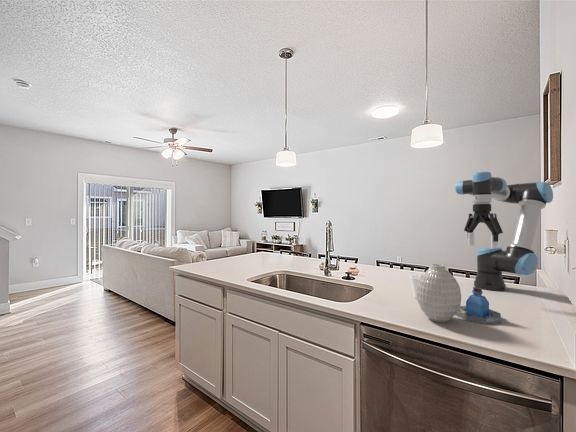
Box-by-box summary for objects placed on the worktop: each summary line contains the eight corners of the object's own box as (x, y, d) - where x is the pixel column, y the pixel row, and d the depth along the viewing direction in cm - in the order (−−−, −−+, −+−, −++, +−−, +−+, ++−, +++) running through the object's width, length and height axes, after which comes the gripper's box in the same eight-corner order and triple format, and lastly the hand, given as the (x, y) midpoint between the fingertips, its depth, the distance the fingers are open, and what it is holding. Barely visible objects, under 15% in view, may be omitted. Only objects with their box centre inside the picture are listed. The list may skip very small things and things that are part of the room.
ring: (478, 309, 125) (478, 303, 125) (510, 322, 110) (510, 315, 110) (447, 311, 123) (447, 304, 123) (475, 324, 108) (475, 317, 108)
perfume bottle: (482, 320, 112) (482, 290, 112) (466, 316, 117) (465, 287, 117) (489, 317, 116) (488, 288, 116) (472, 313, 121) (472, 285, 121)
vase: (466, 319, 114) (465, 264, 114) (454, 330, 103) (454, 270, 103) (424, 309, 126) (424, 260, 125) (410, 319, 114) (409, 265, 114)
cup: (434, 301, 136) (433, 279, 136) (412, 300, 138) (412, 278, 138) (428, 296, 146) (428, 275, 146) (408, 295, 148) (407, 274, 148)
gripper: (456, 204, 149) (456, 244, 149) (497, 202, 124) (497, 250, 124) (468, 204, 150) (469, 244, 150) (512, 202, 125) (512, 249, 125)
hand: (482, 246), depth 137 cm, fingers open, 13 cm apart
